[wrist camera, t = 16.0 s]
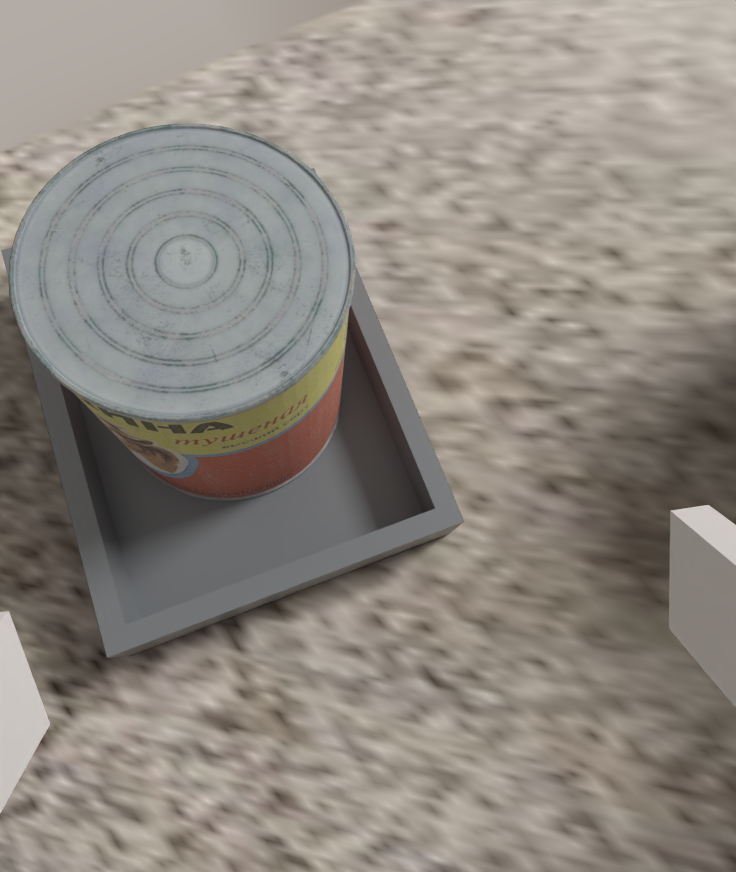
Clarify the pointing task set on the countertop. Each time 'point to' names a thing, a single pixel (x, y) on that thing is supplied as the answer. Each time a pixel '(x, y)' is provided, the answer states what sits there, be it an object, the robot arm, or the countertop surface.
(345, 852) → the countertop surface
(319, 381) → the canned food
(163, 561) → the tray
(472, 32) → the countertop surface
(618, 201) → the countertop surface
